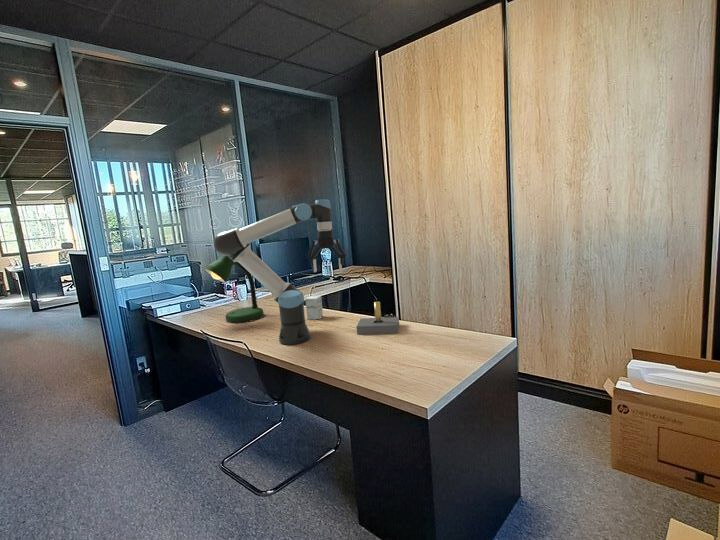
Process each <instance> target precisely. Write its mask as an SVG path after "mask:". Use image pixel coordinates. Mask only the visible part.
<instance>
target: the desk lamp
mask: <svg viewBox="0 0 720 540" xmlns="http://www.w3.org/2000/svg"><path fill="white" fill-rule="evenodd" d="M234 265H235V266H237V268H239V269H240V270H242V271H243V272H244V274H245V276H246V277H247V280H248V283H249V292H250V297H251V306H249V307H248V306H247V307H242V308H241V307H240V308H236V309H233V310H230V311H228V312H226V313H225V322H227V323H229V322H230V324H240V323H239V322H242V323H247V322H246V321H248V322H251V321H250V320H253V321H255V320H254V319H256V320H258V318H259V319H261V318H260V317H262V316H263V315H264V316H265V313H264V310H263V308H262V307H258V304H257V303H258V302H257V293H256V287H255V286H256V285H255V281H254V278H253V277H254V276H253V275H252V274H251V273H250V272H249V271H248V270H246V269H245V268H244V267H243V266H242V265H241V264H240V263H239V262H233V261H232V260H231V259H230V258H229V257H228V256H224V255H221V256H220V257H219V258H218V259H216V260H214V261H213V262H211V263H209V264H208V265H207V266H206V267H205V268H204V271H205V272H207V274H209V275H210V276H211V277H212V279H214V280H217V281H219V282H221V283H225V284H226V283H227V282H228V281H229V279H230V275H231V272H232V268H233V266H234ZM264 316H263V317H264ZM263 317H262V318H263Z"/></svg>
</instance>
